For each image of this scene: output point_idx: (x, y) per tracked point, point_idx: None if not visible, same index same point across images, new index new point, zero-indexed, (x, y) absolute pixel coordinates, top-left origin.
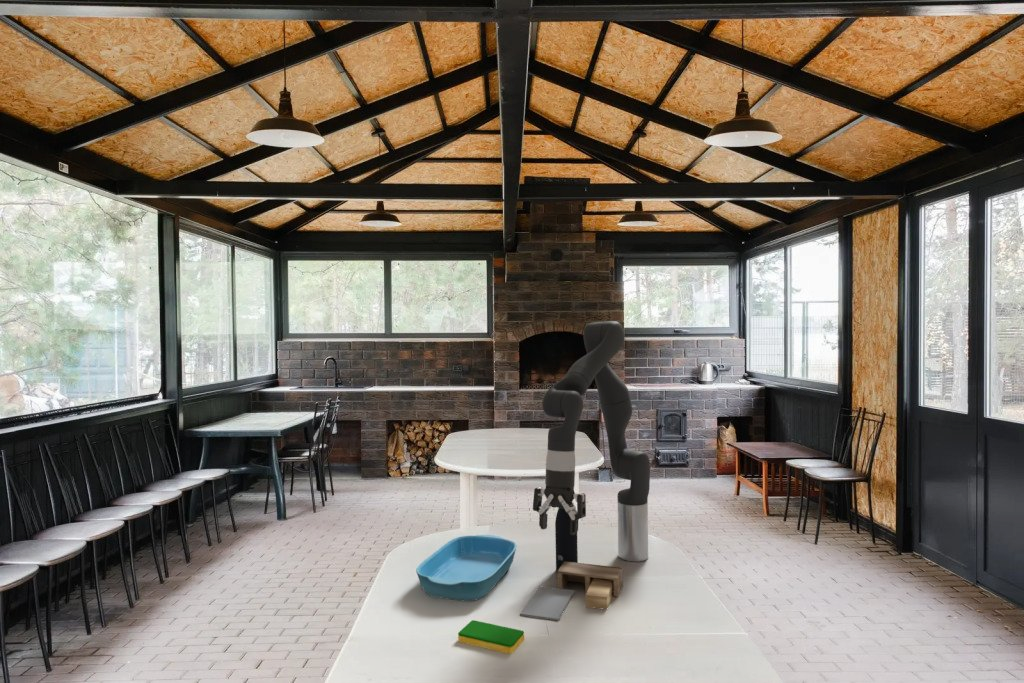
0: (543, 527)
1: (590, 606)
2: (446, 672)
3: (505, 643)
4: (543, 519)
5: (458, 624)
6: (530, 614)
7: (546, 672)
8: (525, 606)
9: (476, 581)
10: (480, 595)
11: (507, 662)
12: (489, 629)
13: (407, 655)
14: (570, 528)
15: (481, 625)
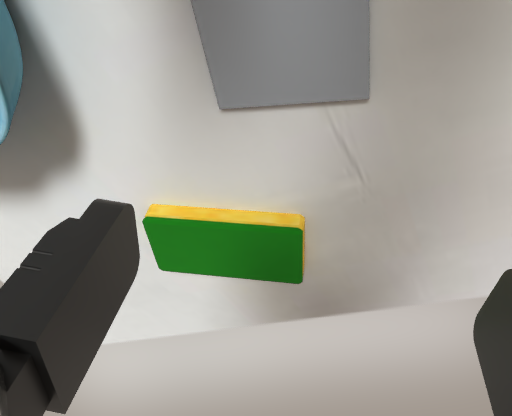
0: (132, 275)
1: None
2: (222, 325)
3: (285, 282)
4: (92, 357)
5: None
6: (257, 104)
7: (405, 301)
8: (207, 51)
9: (1, 138)
10: (22, 66)
11: (310, 290)
12: (213, 247)
13: (125, 303)
14: (493, 393)
15: (183, 237)
